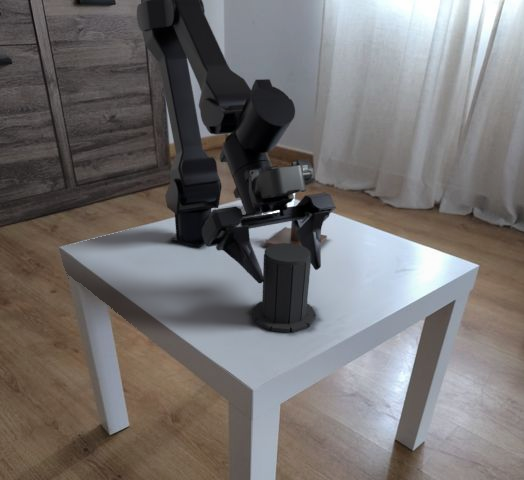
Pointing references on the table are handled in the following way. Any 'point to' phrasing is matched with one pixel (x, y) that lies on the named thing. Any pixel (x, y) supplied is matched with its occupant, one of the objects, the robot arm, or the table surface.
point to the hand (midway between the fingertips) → (290, 275)
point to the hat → (285, 289)
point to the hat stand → (289, 237)
